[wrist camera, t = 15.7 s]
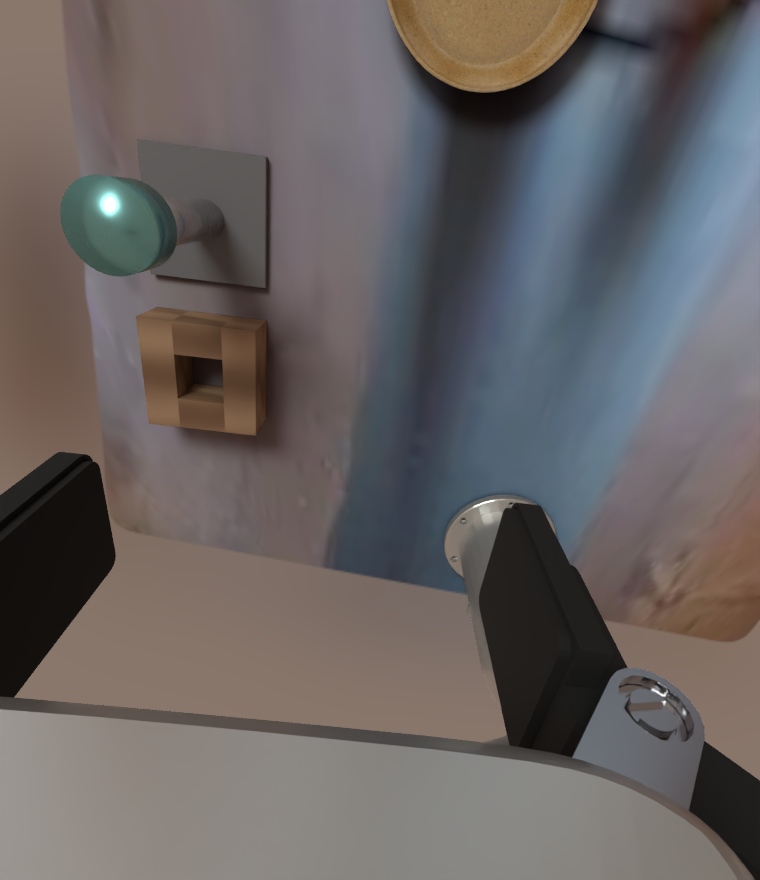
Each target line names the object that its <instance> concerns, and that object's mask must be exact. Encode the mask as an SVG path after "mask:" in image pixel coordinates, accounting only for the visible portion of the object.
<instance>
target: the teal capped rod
mask: <svg viewBox="0 0 760 880" xmlns="http://www.w3.org/2000/svg"><path fill="white" fill-rule="evenodd" d="M60 214H61V223H62V227H63V230H64V233H65V236H66V238H67V240H68V242H69V243H70V245H71V247H72V248H73V250H74V251H75V252H76V254H77V255H78V256H79V257H80V258H81V259H82V260H83V261H84V262H85V263H87V264H88V265H89V266H91V267H92V268H94V269H96V270H97V271H100V272H102V273H104V274H107V275H112V276H128V275H132V274H136V273H139V272H143V271H147V270H150V269H154V268H157V267H159V266H161V265H163V264H164V263H165V262H167V261H168V259H169V258H170V257H171V256H172V254H173V252H174V250H175V247H176V246H178V245H183V244H188V243H194V242H199V241H204V240H209V239H213V238H216V237H218V236H219V235H220V234H221V232H222V230H223V228H224V217H223V214H222V212H221V210H220V209H219V207H218V206H217V205H216V204H215V203H213V202H212V201H210V200H206V199H174V198H163V197H162V196H161V195H160V194H159V193H158V192H157V191H156V190H155V189H154V188H152V187H151V186H149V185H148V184H146V183H144V182H142V181H139V180H136V179H132V178H123V177H113V176H103V175H89V176H85V177H82V178H80V179H78V180H76V181H75V182H73V183H72V184H71V185H70V186H69V187H68V189H67V190H66V192H65V194H64V196H63V199H62V202H61V213H60Z"/></svg>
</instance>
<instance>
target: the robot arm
mask: <svg viewBox="0 0 760 880" xmlns="http://www.w3.org/2000/svg"><path fill="white" fill-rule="evenodd" d="M444 549H445V554H446V558H447V560H448V562H449V564H450V566H451V567H452V568H453V569H454V570H455V571H456V572H457V573H458V574H459V575H461V576H462V577H463V578H464V581H465V586H466V592H467V597H468V602H469V604H468V608H467V615H468V616H469V617H470V618H472V622H473V627H474V632H475V637H476V643H477V647H478V653H479V658H480V664H481V669H482V674H483V678H484V681H485V684H486V687H487V689H488V691H489V693H490V695H491V696H492V698H493V699H494V701H495V702H496V704H497V705H498V706H499V707H500V708H501V709H502V714H503V718H504V723H505V727H506V731H507V735H506V736H504V737H501V738H497V739H494V740H490V741H486V742H473V741H466V740H457V739H448V738H439V737H430V736H422V735H412V734H401V733H391V732H380V731H370V730H360V729H351V728H340V727H330V726H320V725H310V724H300V723H289V722H278V721H267V720H256V719H246V718H236V717H225V716H214V715H203V714H193V713H182V712H171V711H159V710H149V709H138V708H127V707H115V706H104V705H92V704H81V703H69V702H57V701H46V700H35V699H23V698H14V697H15V695H16V694H17V693H18V691H19V690H20V689H21V688H22V686H23V685H24V683H25V682H26V681H27V680H28V678H29V677H30V676H31V674H32V673H33V672H34V670H35V669H36V668H37V666H38V665H39V664H40V663H41V661H42V660H43V659H44V657H45V656H46V655H47V653H48V652H49V651H50V649H51V648H52V647H53V645H54V644H55V643H56V642H57V640H58V639H59V638H60V636H61V635H62V634H63V632H64V631H65V630H66V628H67V627H68V626H69V624H70V623H71V622H72V620H73V619H74V618H75V617H76V615H77V614H78V613H79V611H80V610H81V609H82V607H83V606H84V605H85V603H86V602H87V601H88V599H89V598H90V597H91V595H92V594H93V593H94V592H95V590H96V589H97V588H98V586H99V585H100V583H101V582H102V581H103V580H104V578H105V577H106V576H107V575H108V573H109V572H110V570H111V569H112V567H113V565H114V561H115V556H116V555H115V548H114V543H113V538H112V532H111V527H110V521H109V515H108V510H107V505H106V499H105V494H104V489H103V483H102V478H101V473H100V468H99V465H98V464H97V463H96V462H93V461H92V459H91V457H90V456H88V455H84V454H75V453H66V452H58V453H57V454H55V455H54V456H52V457H51V458H49V459H48V460H47V461H45V462H44V463H43V464H41V465H40V466H39V467H37V468H36V469H35V470H33V471H32V472H31V473H29V474H28V475H27V476H25V477H24V478H23V479H22V480H20V481H19V482H17V483H16V484H15V485H13V486H12V487H11V488H9V489H8V490H7V491H6V492H4V493H3V494H1V495H0V880H760V781H759V780H758V779H757V778H755V777H754V776H752V775H751V774H750V773H748V772H747V771H745V770H744V769H742V768H741V767H740V766H739V765H737V764H736V763H734V762H733V761H731V760H730V759H729V758H727V757H726V756H725V755H723V754H722V753H720V752H719V751H718V750H716V749H715V748H713V747H712V746H711V745H709V744H708V743H706V742H705V741H704V740H705V733H704V725H703V723H702V720H701V717H700V715H699V713H698V711H697V710H696V708H695V707H694V706H693V704H692V703H691V701H690V700H689V699H688V698H687V697H686V696H685V695H684V694H683V693H682V692H681V691H680V690H679V689H678V688H677V687H675V686H674V685H672V684H671V683H670V682H668V681H667V680H666V679H664V678H662V677H660V676H658V675H656V674H654V673H652V672H649V671H646V670H642V669H638V668H627V666H626V664H625V662H624V660H623V658H622V656H621V654H620V652H619V650H618V648H617V646H616V644H615V642H614V640H613V638H612V636H611V635H610V633H609V630H608V628H607V626H606V625H605V623H604V621H603V619H602V617H601V615H600V613H599V611H598V609H597V607H596V605H595V603H594V601H593V599H592V597H591V595H590V593H589V591H588V589H587V587H586V585H585V583H584V581H583V579H582V577H581V575H580V573H579V572H578V570H577V569H576V568H575V567H574V566H572V565H570V563H569V561H568V559H567V557H566V555H565V553H564V551H563V549H562V547H561V545H560V543H559V541H558V539H557V537H556V532H555V528H554V525H553V523H552V521H551V519H550V517H549V516H548V514H547V513H546V511H545V510H544V509H543V508H542V507H541V506H539V505H538V504H536V503H535V502H533V501H531V500H529V499H526V498H523V497H520V496H514V495H494V496H488V497H484V498H481V499H478V500H476V501H474V502H472V503H470V504H468V505H466V506H465V507H464V508H462V509H461V510H460V511H459V512H458V513H457V514H456V515H455V516H454V517H453V518H452V520H451V521H450V523H449V524H448V526H447V529H446V532H445V535H444Z"/></svg>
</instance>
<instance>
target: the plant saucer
mask: <svg viewBox="0 0 760 880" xmlns="http://www.w3.org/2000/svg"><path fill="white" fill-rule="evenodd" d="M597 2H598V0H387V3H388V7H389V11H390V13H391V16H392V19H393V21H394V24H395V26H396V28H397V30H398V32H399V34H400V36H401V38H402V40H403V42H404V43H405V45H406V46H407V48H408V50H409V51H410V52H411V54H412V55H413V56H414V58H415V59H416V60H417V61H418V62H419V63H420V64H421V65H422V66H423V68H424V69H426V70H427V71H428V72H429V73H431V74H432V75H433V76H435V77H436V78H437V79H439V80H441V81H443V82H444V83H446V84H448V85H450V86H453V87H456V88H458V89H461V90H465V91H472V92H480V93H489V92H498V91H503V90H507V89H510V88H513V87H516V86H519V85H521V84H523V83H526V82H528V81H530V80H531V79H533V78H535V77H537V76H538V75H540V74H541V73H543V72H544V71H545V70H547V69H548V68H549V67H550V66H552V65H553V64H554V63H555V62H556V61H557V60H558V59H559V58H560V57H561V56H562V55H563V54H564V53H565V52H566V51H567V50H568V49H569V47H570V46H571V45H572V44H573V43H574V41H575V40H576V39H577V37H578V36H579V34H580V33H581V31H582V30H583V28H584V27H585V25H586V24H587V22H588V20H589V18H590V16H591V14H592V12H593V10H594V9H595V6H596V4H597Z"/></svg>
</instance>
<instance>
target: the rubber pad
mask: <svg viewBox="0 0 760 880" xmlns="http://www.w3.org/2000/svg"><path fill="white" fill-rule="evenodd" d="M137 144H138V154H139V163H140V173H141V181H142V182H144V183H146V184H148V185H149V186H151V187H152V188H154V189H155V190H156V191H157V192H158V193H159V194H160V195H161V196H162V197H163V198H174V199H206V200H210V201H212V202H213V203H215V204H216V205H217V206H218V207H219V209H220V210H221V212H222V214H223V217H224V228H223V230H222V232H221V234H220V235H219V236H218V237H216V238H213V239H209V240H204V241H199V242H194V243H188V244H183V245H178V246H176V247H175V250H174V252H173V254H172V256H171V257H170V258H169V259H168V261H167V262H165V263H164V264H163V265H161V266H159V267H157V268H154V269H150V270H151V274H157V275H165V276H172V277H180V278H188V279H196V280H204V281H212V282H220V283H228V284H236V285H244V286H252V287H260V288H266V287H267V177H268V157H263V156H256V155H248V154H241V153H234V152H226V151H219V150H212V149H204V148H197V147H190V146H182V145H175V144H168V143H160V142H153V141H146V140H138V139H137Z"/></svg>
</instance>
